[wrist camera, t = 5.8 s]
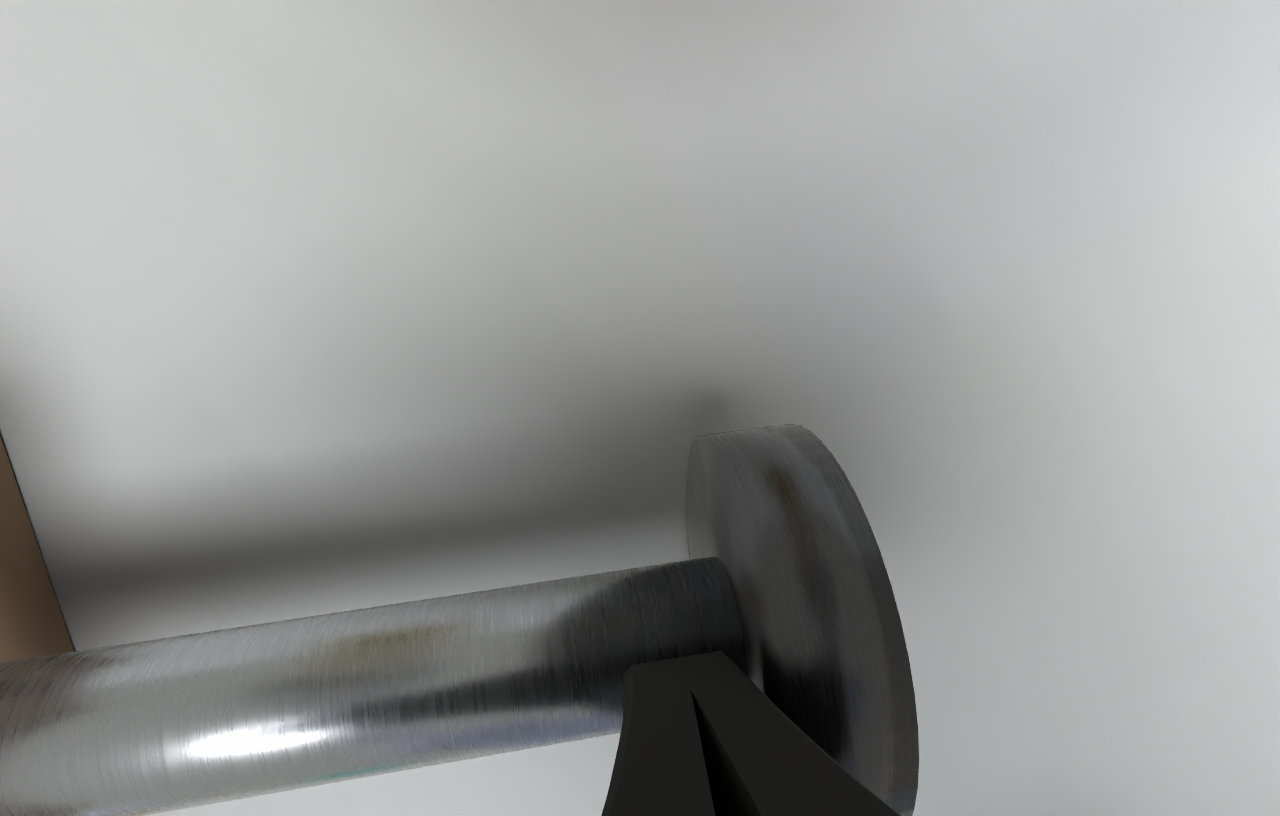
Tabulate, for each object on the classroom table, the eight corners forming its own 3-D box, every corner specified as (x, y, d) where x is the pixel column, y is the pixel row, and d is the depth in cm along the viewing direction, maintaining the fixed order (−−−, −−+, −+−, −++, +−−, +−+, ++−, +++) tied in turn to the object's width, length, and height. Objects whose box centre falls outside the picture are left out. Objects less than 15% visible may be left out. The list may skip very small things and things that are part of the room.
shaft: (749, 388, 13) (921, 510, 7) (765, 668, 15) (917, 965, 9) (-269, 514, 12) (-1213, 822, 5) (-129, 818, 13) (-738, 1330, 7)
